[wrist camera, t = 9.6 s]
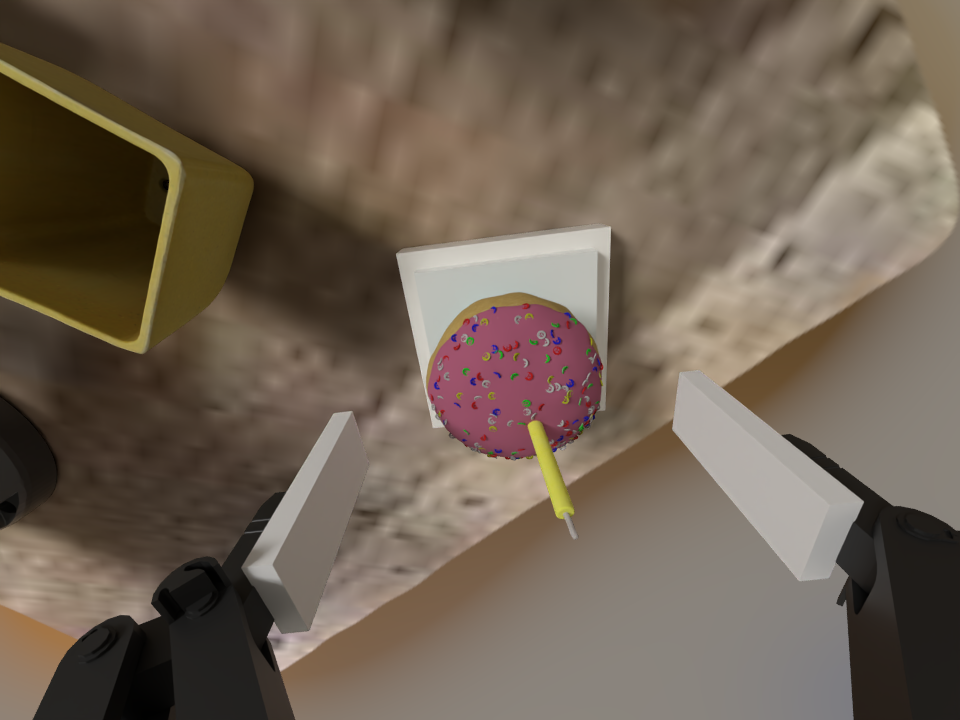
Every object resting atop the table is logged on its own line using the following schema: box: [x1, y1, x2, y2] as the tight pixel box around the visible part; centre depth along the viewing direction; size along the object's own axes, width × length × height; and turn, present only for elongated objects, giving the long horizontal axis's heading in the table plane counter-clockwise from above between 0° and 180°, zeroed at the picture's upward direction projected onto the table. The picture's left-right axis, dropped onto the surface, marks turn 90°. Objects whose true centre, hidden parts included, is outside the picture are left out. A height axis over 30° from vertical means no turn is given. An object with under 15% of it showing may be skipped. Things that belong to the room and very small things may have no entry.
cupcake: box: [426, 292, 603, 539], centre depth 16 cm, size 9×8×12 cm
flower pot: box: [0, 43, 254, 354], centre depth 17 cm, size 9×9×9 cm
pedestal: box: [396, 223, 611, 428], centre depth 23 cm, size 12×12×3 cm
